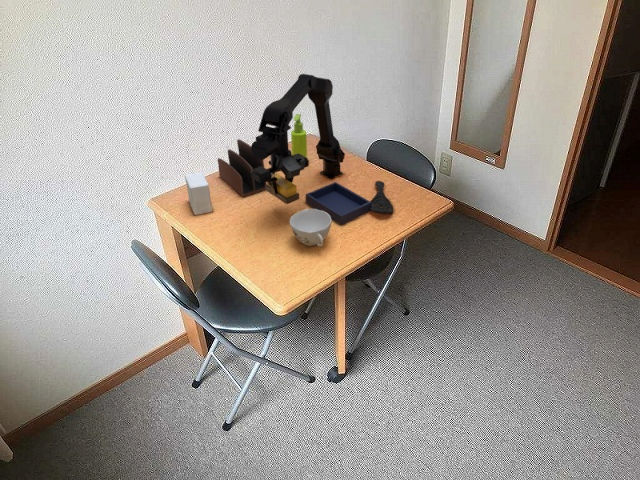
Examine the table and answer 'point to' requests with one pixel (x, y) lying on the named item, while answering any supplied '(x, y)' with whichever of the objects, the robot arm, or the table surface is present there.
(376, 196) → the hairbrush
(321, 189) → the blue tray
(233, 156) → the letter holder
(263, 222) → the table surface
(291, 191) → the duster
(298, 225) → the teacup
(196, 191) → the cosmetics box
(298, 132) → the soap dispenser
